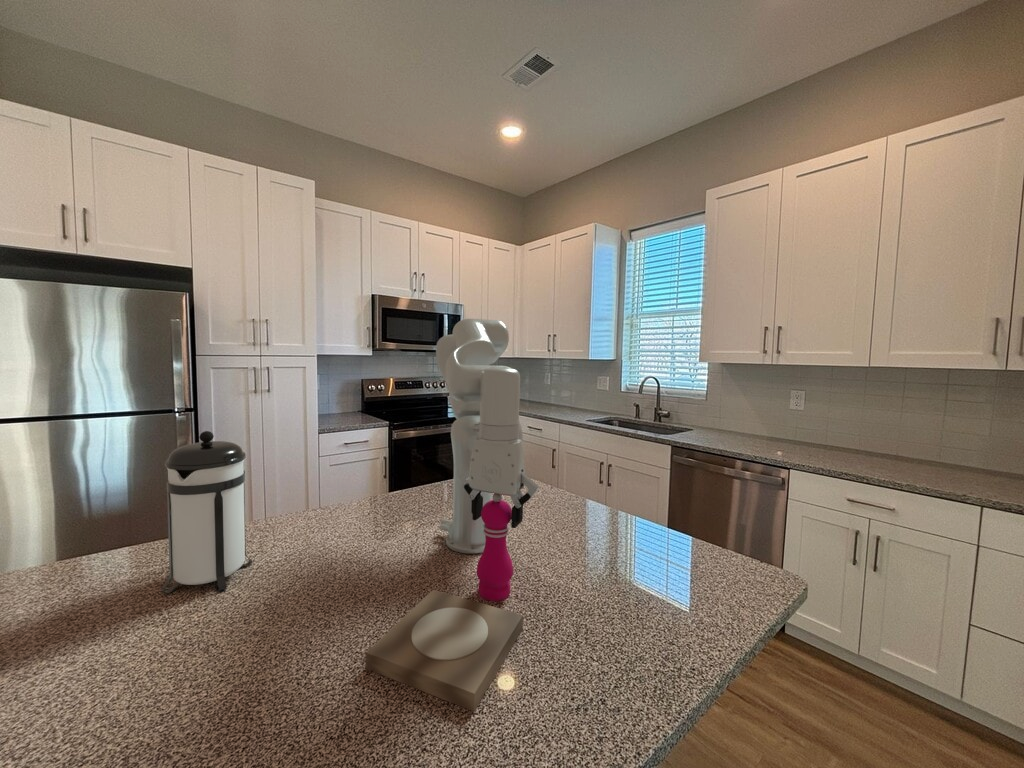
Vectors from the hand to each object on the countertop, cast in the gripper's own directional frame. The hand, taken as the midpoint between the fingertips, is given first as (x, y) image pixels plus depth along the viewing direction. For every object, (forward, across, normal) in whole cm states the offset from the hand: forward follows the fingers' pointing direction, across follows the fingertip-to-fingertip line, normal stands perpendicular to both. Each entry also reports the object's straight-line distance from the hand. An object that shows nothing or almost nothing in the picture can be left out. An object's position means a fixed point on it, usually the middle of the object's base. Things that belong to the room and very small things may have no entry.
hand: (496, 521), depth 81 cm
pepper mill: (+15, 0, 0) cm, 15 cm away
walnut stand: (+14, 0, -17) cm, 22 cm away
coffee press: (+15, -55, -19) cm, 60 cm away
